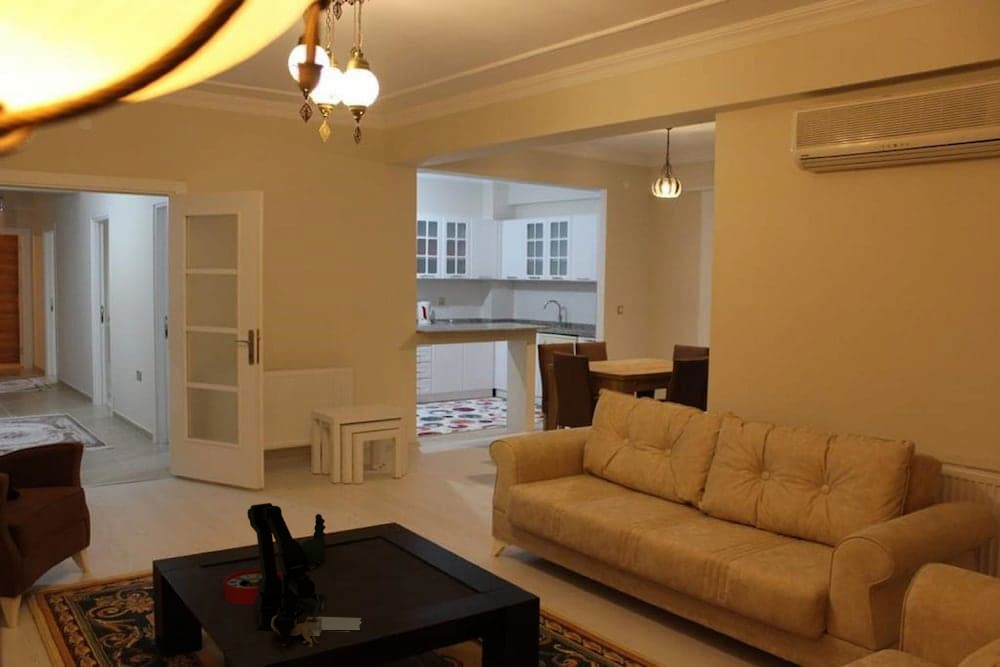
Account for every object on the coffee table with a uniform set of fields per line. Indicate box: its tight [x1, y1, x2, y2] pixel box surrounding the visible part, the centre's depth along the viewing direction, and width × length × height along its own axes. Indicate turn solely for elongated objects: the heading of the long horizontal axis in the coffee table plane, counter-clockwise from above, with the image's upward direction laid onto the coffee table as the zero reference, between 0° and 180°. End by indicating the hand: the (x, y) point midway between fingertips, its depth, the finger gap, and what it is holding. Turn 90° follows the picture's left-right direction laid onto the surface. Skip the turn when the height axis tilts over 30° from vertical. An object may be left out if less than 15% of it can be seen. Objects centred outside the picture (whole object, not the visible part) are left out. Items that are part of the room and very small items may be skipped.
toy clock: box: [223, 569, 282, 606], centre depth 303 cm, size 20×6×20 cm
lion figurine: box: [271, 615, 320, 648], centre depth 263 cm, size 15×5×9 cm, turn 94°
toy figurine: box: [300, 513, 327, 568], centre depth 338 cm, size 9×19×25 cm
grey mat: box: [321, 616, 362, 630], centre depth 279 cm, size 10×16×1 cm, turn 90°
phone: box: [317, 594, 328, 613], centre depth 296 cm, size 8×1×15 cm
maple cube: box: [304, 616, 323, 637], centre depth 271 cm, size 4×4×5 cm
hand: (290, 639), depth 263 cm, fingers open, 8 cm apart
